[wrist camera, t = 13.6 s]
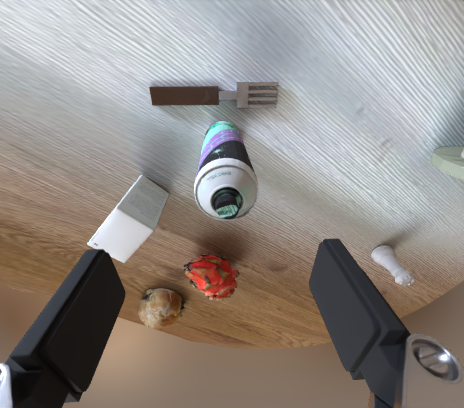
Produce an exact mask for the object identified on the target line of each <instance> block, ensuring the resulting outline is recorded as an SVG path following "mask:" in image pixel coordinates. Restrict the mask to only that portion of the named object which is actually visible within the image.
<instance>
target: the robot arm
mask: <svg viewBox="0 0 464 408" xmlns="http://www.w3.org/2000/svg"><path fill="white" fill-rule="evenodd" d="M309 287H310V290H311V292H312V295H313V297H314V299H315V302H316V304H317V306H318V309H319V311H320V313H321V316H322V318H323V320H324V323H325V325H326V327H327V330H328V332H329V334H330V337H331V339H332V341H333V343H334V346H335V348H336V350H337V353H338V355H339V357H340V360H341V362H342V364H343V366H344V368H345V369H346V371H348V372H349V371H350V374H351V376H352V378H353V380H359V379H365V380H366V383H367V384H368V387H369V389H370V391H371V392H370V398H369V404H368V408H464V367H463V365H462V364H461V362H460V361H459V359H458V358H457V357H456V356H455V354H454V353H452V351H451V350H450V349H448V348H447V347H445V345H443V344H442V343H440V342H439V341H437V340H436V339H434V338H432V337H429V336H426V335H423V334H413V335H411V334H410V333H409V331H408V330H407V329H406V327H405V326H404V325H403V323H402V322H401V321H400V319H399V318H398V316H397V315H396V314H395V312H394V311H393V310H392V308H391V307H390V306H389V304H388V303H387V302H386V300H385V299H384V298H383V296H382V295H381V293H380V292H379V291H378V289H377V288H376V287H375V285H374V284H373V283H372V281H371V280H370V279H369V277H368V276H367V275H366V273H365V272H364V271H363V270H362V269H361V268H360V267H359V265H358V264H357V263H356V261H355V260H354V258H353V257H352V256H351V254H350V253H349V252H348V250H347V249H346V248H345V246H344V245H343V243H342V242H341V241H340V240H339V239H324V240H323V242H321V243H320V244H319V248H318V251H317V255H316V258H315V262H314V265H313V269H312V272H311V276H310V280H309ZM124 299H125V290H124V287H123V285H122V283H121V280H120V278H119V276H118V273H117V271H116V268H115V266H114V264H113V261H112V259H111V257H110V254H109V253H108V252H105V250H104V249H92V250H87V251H86V252H85V253H84V254H83V256H82V257H81V258H80V260H79V261H78V263H77V264H76V265H75V267H74V268H73V269H72V271H71V272H70V274H69V275H68V276H67V278H66V279H65V280H64V282H63V283H62V284H61V286H60V287H59V289H58V290H57V291H56V293H55V294H54V295H53V297H52V298H51V300H50V301H49V302H48V304H47V305H46V306H45V308H44V309H43V311H42V312H41V313H40V315H39V316H38V318H37V319H36V320H35V321H34V323H33V324H32V326H31V327H30V328H29V330H28V331H27V332H26V334H25V335H24V337H23V338H22V339H21V341H20V342H19V343H18V345H17V346H16V347H15V349H14V350H13V352H12V353H11V354H10V356H9V358H8V360H7V361H6V362H5V364H4V363H0V408H62V406H63V404H64V403H67V402H79V400H80V398H81V395H82V393H83V392H84V391H86V390H87V389H88V387H89V385H90V383H91V381H92V378H93V376H94V373H95V371H96V368H97V366H98V363H99V361H100V358H101V356H102V354H103V351H104V349H105V346H106V344H107V341H108V339H109V336H110V334H111V331H112V329H113V326H114V324H115V322H116V319H117V317H118V314H119V312H120V309H121V307H122V304H123V302H124Z"/></svg>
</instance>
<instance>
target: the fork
mask: <svg viewBox="0 0 464 408" xmlns="http://www.w3.org/2000/svg"><path fill="white" fill-rule="evenodd" d="M249 86H278V82H237V91H218V86H200V87H149V88H150V94H151V99H152V105H219V100H237V106H236V107H237V108H276V104H248V101H277V97H248V95H249V94H269V93H278V90H249Z"/></svg>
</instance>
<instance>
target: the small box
mask: <svg viewBox="0 0 464 408" xmlns="http://www.w3.org/2000/svg"><path fill="white" fill-rule="evenodd" d="M168 196H169V193H167V192H166V191H165V190H163V189H162V188H160V187H159V186H158V185H156V184H155V183H153V182H152V181H150V180H149V179H148V178H146V177H145V176H143V175H141V176H140V177H139V178H138V180H137V181H136V182H135V183H134V185H133V186H132V187H131V188H130V190H129V191H128V192H127V193H126V195H125V196H124V197H123V198H122V200H121V201H120V202H119V204H118V205H117V206H116V207H115V209H114V210H113V211H112V213H111V214H110V215H109V216H108V218H107V219H106V220H105V221H104V223H103V224H102V225H101V227H100V228H99V229H98V231H97V232H96V233H95V234H94V236H93V237H92V238H91V240H90V241H89V242H88V243H87V244H88V245H89V246H91V247H93V248H95V249H104V250H105V252H108V253H109V254H110V256H111V257H113V258H115V259H117V260H119V261H121V262H123V263H125V262H126V261H127V260H128V259H129V258H130V257H131V256H132V255H133V254H134V252H135V251H136V250H137V249H138V248H139V247H140V246H141V245H142V244H143V243H144V242H145V240H146V239H147V238H148V237H149V236H150V235H151V234H152V233H153V232H154V231H155V229H156V226H157V224H158V221H159V219H160V216H161V214H162V211H163V209H164V206H165V204H166V201H167V199H168Z"/></svg>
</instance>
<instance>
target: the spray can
mask: <svg viewBox="0 0 464 408" xmlns="http://www.w3.org/2000/svg"><path fill="white" fill-rule="evenodd" d="M194 192H195V200H196V202H197V205H198V207H199V208H200V209H201V211H203V212H204V213H205V214H206V215H208V216H209V217H211V218H214V219H217V220H221V221H230V220H235V219H239V218H241V217H243V216H245V215H246V214H248V213H249V212H250V211H251V210H252V209H253V207H254V206H255V204H256V202H257V199H258V194H259V192H258V182H257V178H256V175H255V173H254V170H253V167H252V165H251V162H250V159H249V157H248V154H247V151H246V148H245V146H244V143H243V140H242V138H241V135H240V133H239V131H238V129H237V128H236V126H234V125H233V124H232V123H230V122H227V121H218V122H215V123H214V124H212V125H211V126H210V127H209V128H208V130H207V132H206V134H205V138H204V143H203V148H202V152H201V157H200V161H199V166H198V171H197V175H196V180H195V184H194Z"/></svg>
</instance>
